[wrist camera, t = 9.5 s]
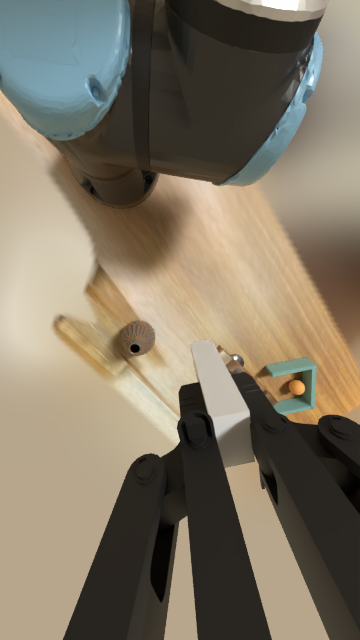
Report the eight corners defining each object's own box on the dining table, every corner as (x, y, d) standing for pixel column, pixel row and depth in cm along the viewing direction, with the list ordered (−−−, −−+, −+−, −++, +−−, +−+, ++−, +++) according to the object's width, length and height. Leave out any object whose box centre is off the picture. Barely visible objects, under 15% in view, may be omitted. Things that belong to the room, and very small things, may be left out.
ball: (286, 377, 52) (291, 385, 49) (300, 376, 52) (307, 384, 48) (286, 390, 53) (292, 398, 50) (301, 388, 53) (308, 397, 49)
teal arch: (265, 365, 50) (272, 373, 47) (306, 357, 50) (316, 364, 47) (267, 406, 54) (274, 416, 51) (305, 398, 55) (314, 408, 51)
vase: (149, 349, 47) (145, 370, 38) (120, 339, 46) (110, 358, 37) (160, 323, 45) (159, 339, 37) (131, 312, 44) (122, 325, 35)
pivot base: (222, 356, 49) (222, 357, 48) (242, 352, 49) (242, 353, 48) (224, 374, 50) (224, 374, 50) (244, 370, 50) (244, 370, 50)
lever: (211, 350, 47) (215, 359, 43) (218, 343, 47) (223, 352, 43) (262, 397, 52) (270, 408, 49) (269, 391, 52) (278, 402, 48)
